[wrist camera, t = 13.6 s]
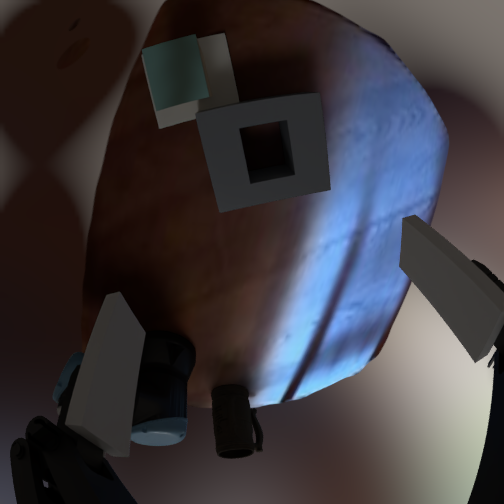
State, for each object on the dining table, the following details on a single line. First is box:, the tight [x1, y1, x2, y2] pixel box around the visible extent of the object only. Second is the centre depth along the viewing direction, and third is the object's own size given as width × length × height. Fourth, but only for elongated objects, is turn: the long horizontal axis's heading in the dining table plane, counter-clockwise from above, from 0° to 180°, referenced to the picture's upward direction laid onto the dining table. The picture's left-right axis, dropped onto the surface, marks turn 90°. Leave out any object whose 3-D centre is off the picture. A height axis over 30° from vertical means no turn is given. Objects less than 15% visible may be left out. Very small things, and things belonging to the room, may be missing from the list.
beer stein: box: [211, 385, 263, 459], centre depth 67 cm, size 15×11×20 cm
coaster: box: [142, 33, 239, 129], centre depth 34 cm, size 12×12×1 cm
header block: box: [195, 92, 331, 213], centre depth 38 cm, size 16×14×6 cm
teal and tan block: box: [142, 34, 212, 111], centre depth 27 cm, size 5×6×15 cm
